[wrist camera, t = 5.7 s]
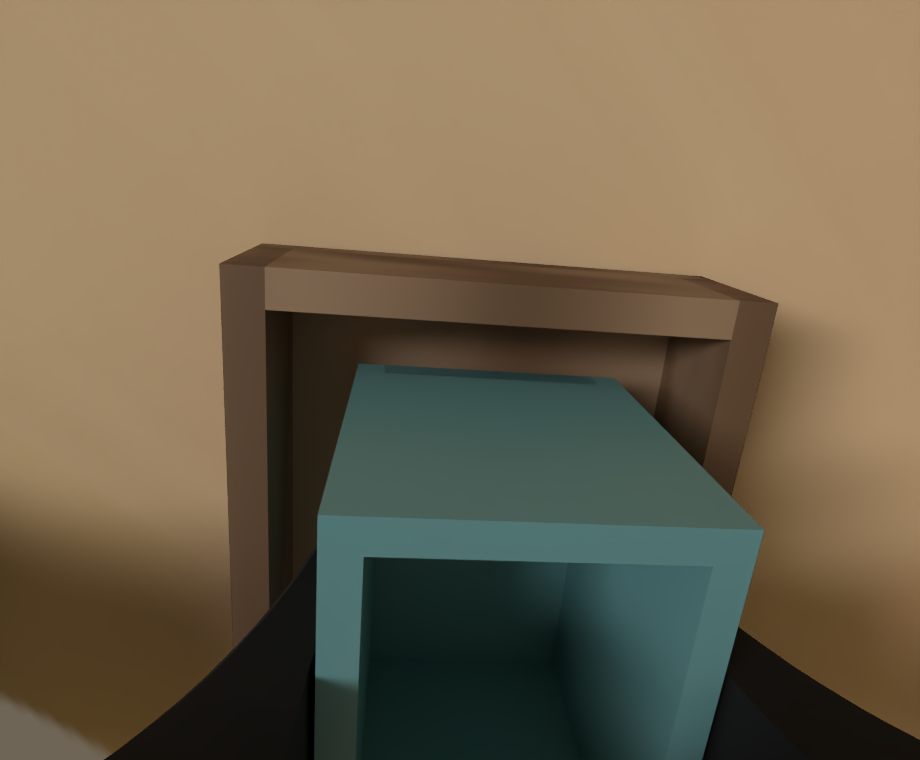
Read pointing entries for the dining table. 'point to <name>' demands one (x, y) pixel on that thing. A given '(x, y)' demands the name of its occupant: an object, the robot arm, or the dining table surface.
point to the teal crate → (520, 574)
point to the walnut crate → (450, 367)
